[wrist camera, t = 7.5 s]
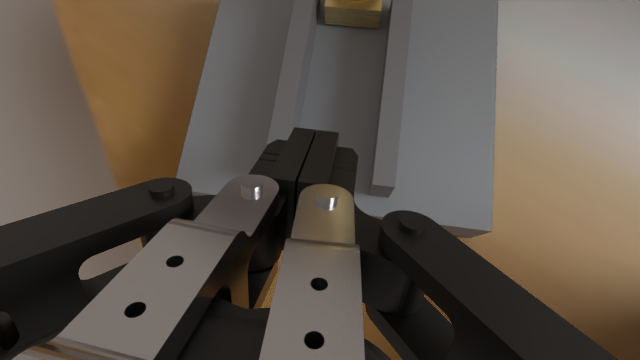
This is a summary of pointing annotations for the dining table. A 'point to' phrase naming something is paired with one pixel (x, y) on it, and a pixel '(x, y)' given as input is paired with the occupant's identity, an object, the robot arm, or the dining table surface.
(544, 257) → the dining table surface
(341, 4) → the bolt
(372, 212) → the door edge model
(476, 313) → the robot arm
